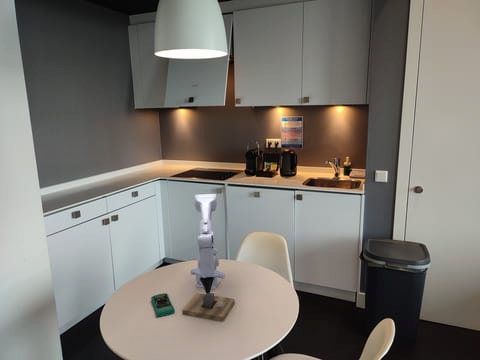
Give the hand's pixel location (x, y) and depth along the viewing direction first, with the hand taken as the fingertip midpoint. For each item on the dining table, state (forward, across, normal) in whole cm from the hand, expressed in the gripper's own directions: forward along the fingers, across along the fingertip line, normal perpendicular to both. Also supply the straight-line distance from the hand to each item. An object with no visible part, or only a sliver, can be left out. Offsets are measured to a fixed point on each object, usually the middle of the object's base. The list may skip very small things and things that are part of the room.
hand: (208, 292), depth 150 cm
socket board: (+8, 0, 0) cm, 8 cm away
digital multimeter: (+8, -20, -4) cm, 22 cm away
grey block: (+8, 0, 0) cm, 8 cm away
